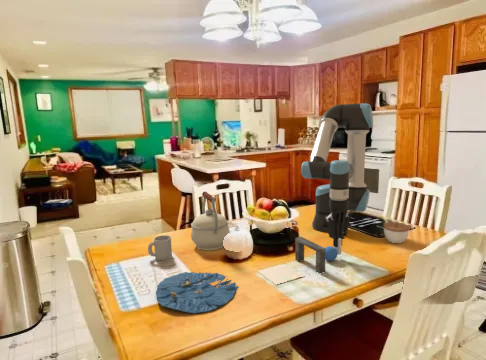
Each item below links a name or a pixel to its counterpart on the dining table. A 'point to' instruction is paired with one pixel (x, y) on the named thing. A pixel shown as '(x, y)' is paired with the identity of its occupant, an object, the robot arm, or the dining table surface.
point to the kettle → (209, 227)
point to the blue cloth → (195, 292)
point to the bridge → (319, 249)
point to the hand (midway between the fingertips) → (337, 253)
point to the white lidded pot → (396, 232)
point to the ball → (331, 253)
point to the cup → (161, 247)
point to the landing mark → (278, 273)
